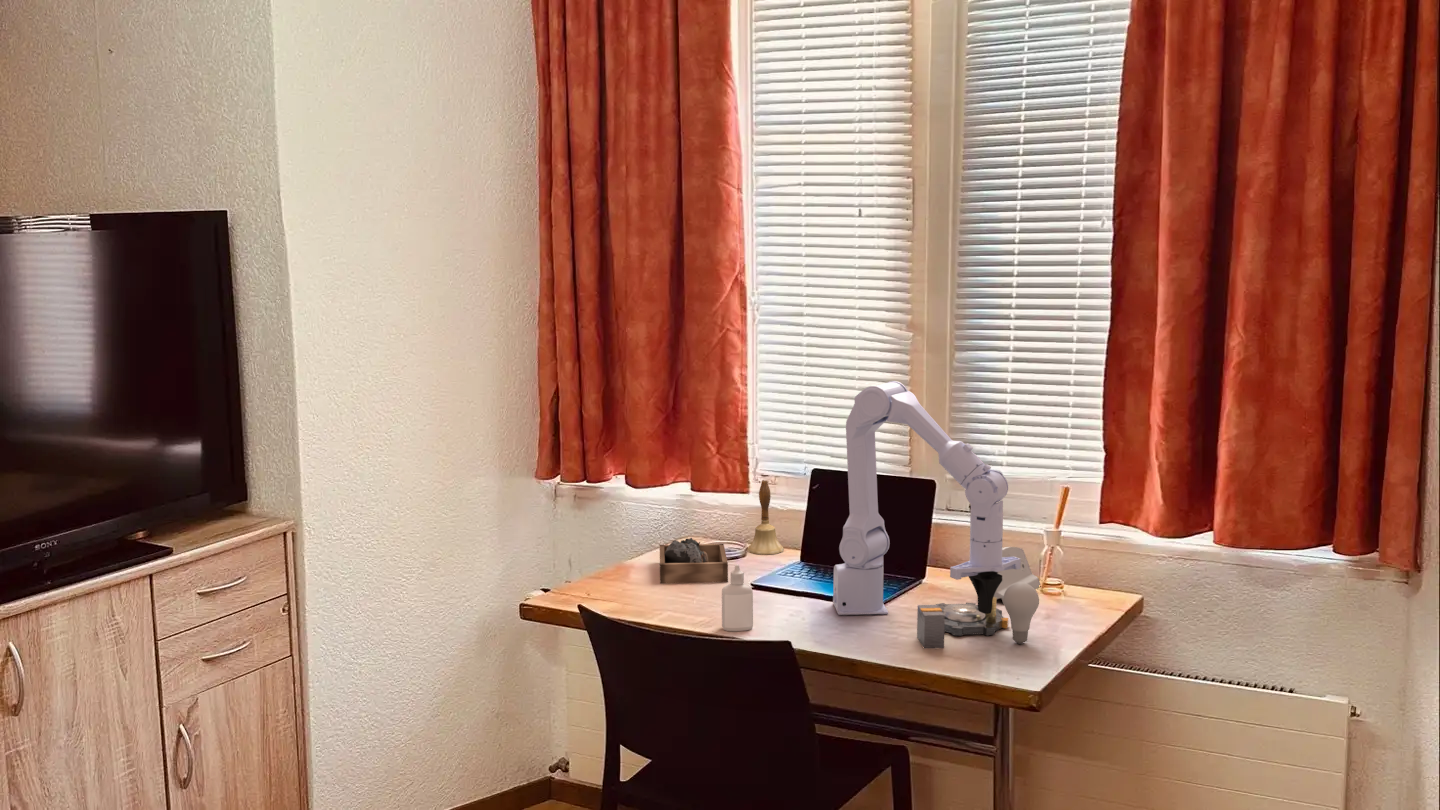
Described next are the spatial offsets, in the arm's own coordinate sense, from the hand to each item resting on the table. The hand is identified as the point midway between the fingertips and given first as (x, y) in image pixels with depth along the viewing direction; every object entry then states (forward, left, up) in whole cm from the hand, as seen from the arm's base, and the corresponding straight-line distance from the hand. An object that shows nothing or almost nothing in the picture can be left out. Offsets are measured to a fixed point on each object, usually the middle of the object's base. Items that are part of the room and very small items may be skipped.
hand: (984, 612), depth 227 cm
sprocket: (-3, +5, -4) cm, 6 cm away
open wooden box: (-52, +43, -4) cm, 67 cm away
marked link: (-11, -5, -4) cm, 13 cm away
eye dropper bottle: (-45, +5, -4) cm, 45 cm away
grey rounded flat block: (+11, +24, -4) cm, 27 cm away
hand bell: (-35, +60, -4) cm, 69 cm away
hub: (-3, +5, -4) cm, 6 cm away
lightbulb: (+4, -7, -4) cm, 9 cm away
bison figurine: (-51, +43, -3) cm, 67 cm away
